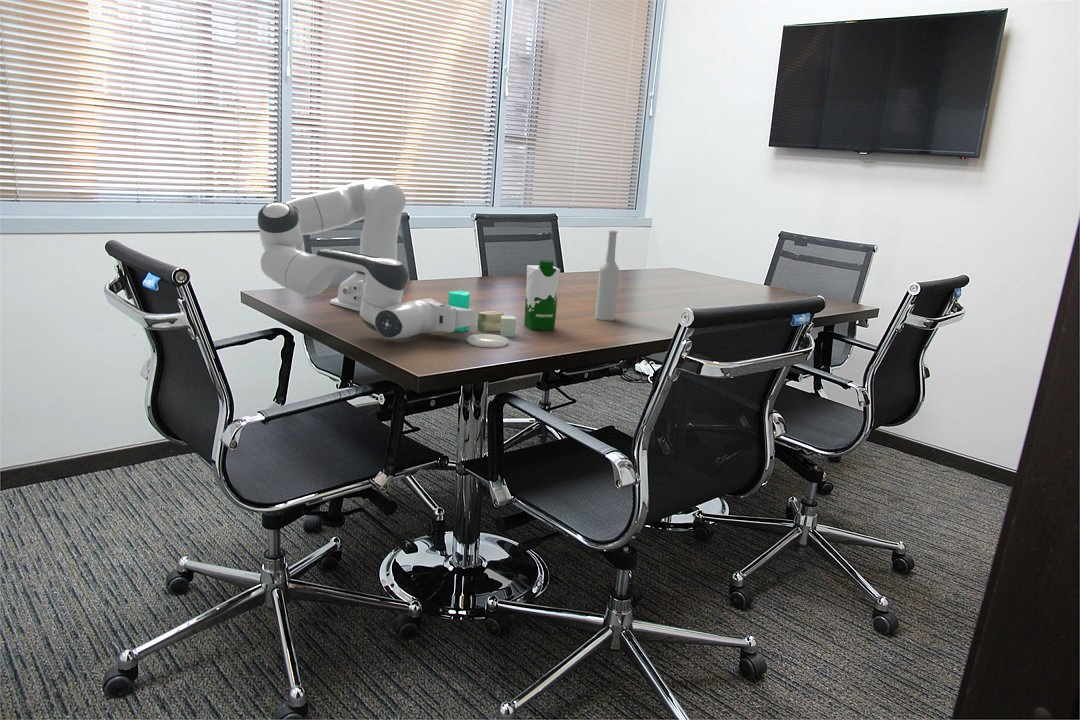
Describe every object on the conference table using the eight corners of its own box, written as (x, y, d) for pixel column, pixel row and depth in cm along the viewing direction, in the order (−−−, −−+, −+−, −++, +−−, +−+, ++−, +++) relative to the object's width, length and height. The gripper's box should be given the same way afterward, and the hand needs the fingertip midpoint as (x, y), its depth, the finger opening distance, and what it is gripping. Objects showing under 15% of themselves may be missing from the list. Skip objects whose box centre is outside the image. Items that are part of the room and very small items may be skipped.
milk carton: (530, 331, 220) (535, 262, 215) (520, 324, 228) (524, 257, 223) (558, 330, 223) (563, 262, 218) (547, 323, 231) (552, 258, 226)
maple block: (477, 329, 218) (478, 312, 217) (493, 327, 222) (494, 310, 221) (485, 332, 215) (486, 314, 214) (502, 330, 219) (503, 313, 218)
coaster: (458, 342, 201) (458, 338, 200) (481, 335, 210) (481, 332, 210) (494, 349, 196) (494, 346, 195) (515, 342, 205) (515, 338, 205)
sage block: (500, 336, 211) (501, 318, 210) (499, 332, 215) (500, 315, 214) (515, 336, 212) (516, 319, 211) (513, 333, 216) (514, 316, 215)
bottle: (614, 321, 242) (622, 232, 235) (593, 319, 243) (601, 230, 236) (616, 317, 248) (624, 231, 241) (596, 315, 249) (603, 229, 242)
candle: (449, 331, 213) (450, 288, 210) (445, 326, 218) (447, 284, 215) (470, 331, 214) (472, 289, 211) (466, 326, 220) (468, 285, 217)
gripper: (393, 320, 206) (424, 313, 218) (456, 333, 197) (485, 325, 209) (394, 297, 205) (425, 292, 217) (457, 309, 196) (486, 302, 208)
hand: (455, 308), depth 213 cm, fingers open, 8 cm apart
